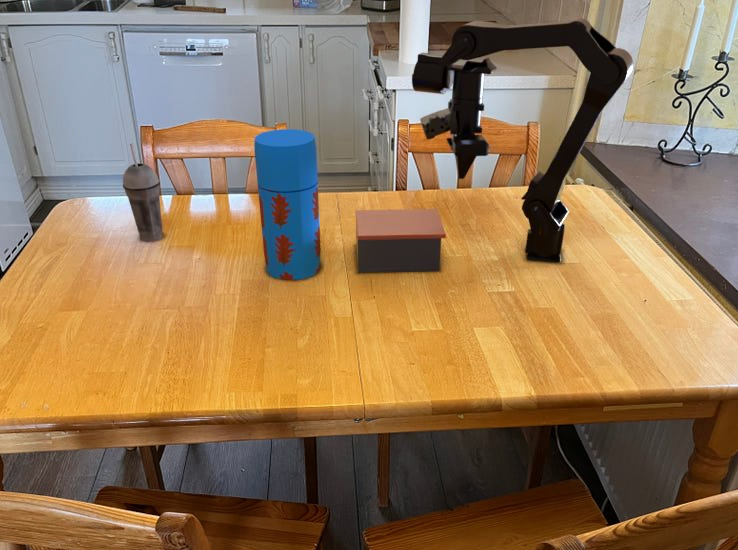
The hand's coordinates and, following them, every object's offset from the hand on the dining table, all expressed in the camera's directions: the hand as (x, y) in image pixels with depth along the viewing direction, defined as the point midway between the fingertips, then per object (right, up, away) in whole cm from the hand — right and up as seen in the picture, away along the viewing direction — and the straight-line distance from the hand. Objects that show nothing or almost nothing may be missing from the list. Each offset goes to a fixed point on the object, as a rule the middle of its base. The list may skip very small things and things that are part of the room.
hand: (461, 178), depth 137 cm
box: (-13, -16, 0) cm, 21 cm away
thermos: (-33, -19, -4) cm, 38 cm away
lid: (-13, -10, -4) cm, 17 cm away
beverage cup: (-65, -10, +8) cm, 66 cm away
